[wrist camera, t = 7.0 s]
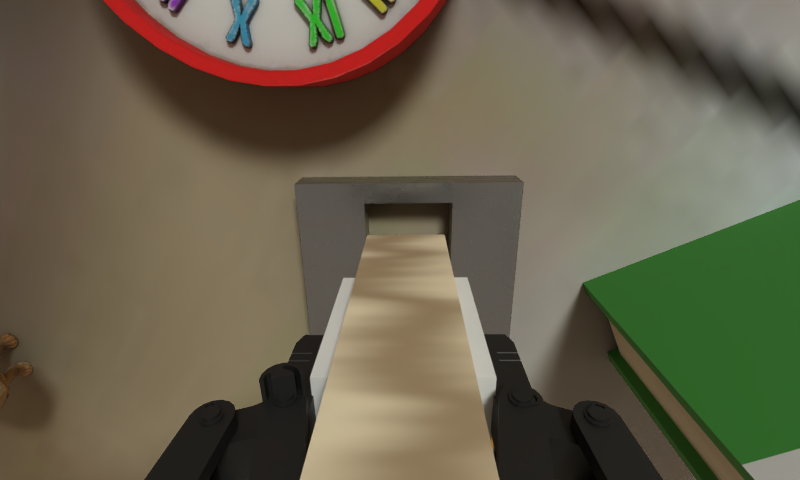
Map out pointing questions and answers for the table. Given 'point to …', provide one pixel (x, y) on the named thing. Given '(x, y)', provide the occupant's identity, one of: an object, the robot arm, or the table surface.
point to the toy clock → (281, 35)
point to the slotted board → (468, 196)
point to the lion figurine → (6, 376)
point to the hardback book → (716, 345)
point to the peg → (402, 375)
